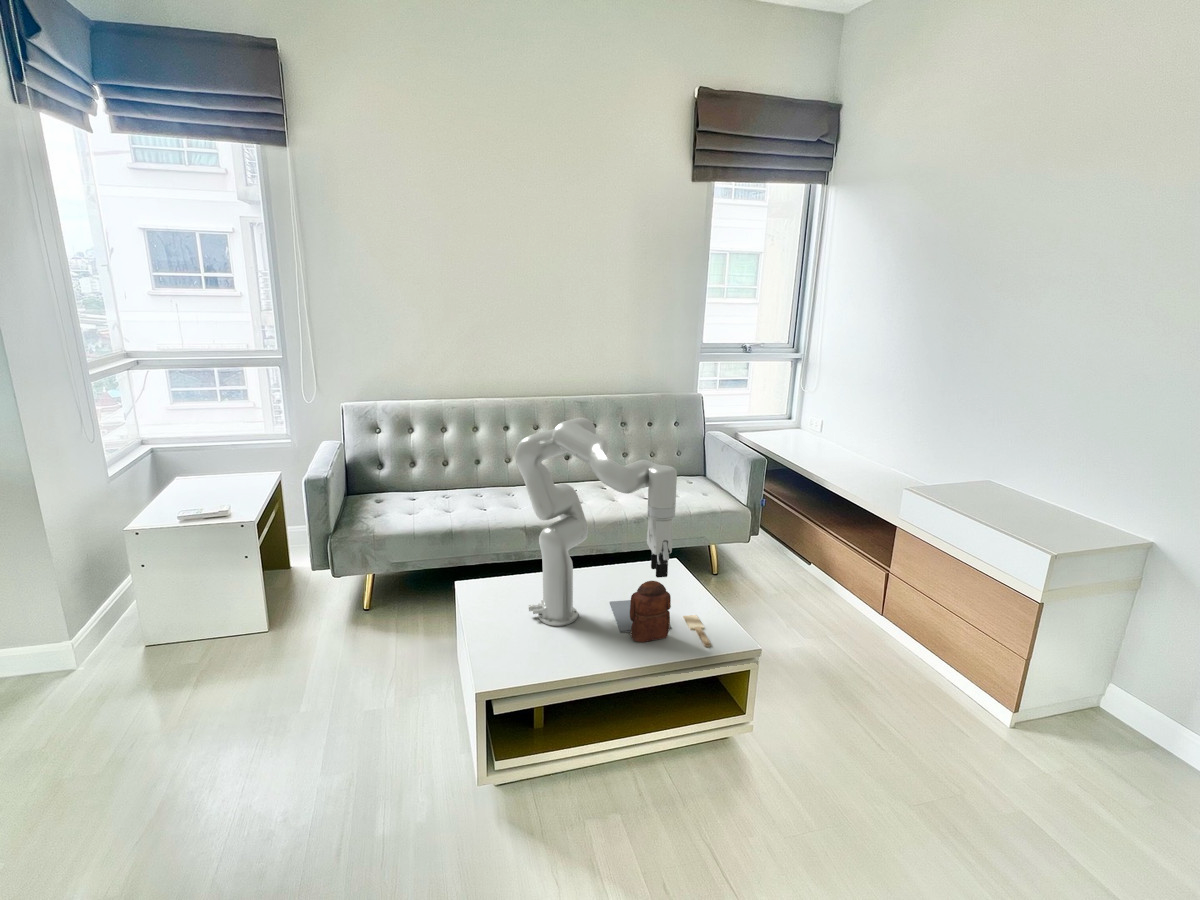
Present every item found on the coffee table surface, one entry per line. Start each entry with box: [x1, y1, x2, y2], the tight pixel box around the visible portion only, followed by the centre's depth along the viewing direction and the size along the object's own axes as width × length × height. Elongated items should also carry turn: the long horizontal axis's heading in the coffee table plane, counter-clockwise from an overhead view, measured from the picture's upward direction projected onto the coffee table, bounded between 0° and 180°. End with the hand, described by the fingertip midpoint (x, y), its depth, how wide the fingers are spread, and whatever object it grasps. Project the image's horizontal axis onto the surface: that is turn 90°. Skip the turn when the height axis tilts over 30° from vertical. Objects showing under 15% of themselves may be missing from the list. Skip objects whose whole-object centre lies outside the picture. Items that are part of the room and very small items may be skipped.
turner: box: [682, 614, 712, 648], centre depth 191 cm, size 18×4×1 cm, turn 9°
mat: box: [609, 599, 672, 633], centre depth 200 cm, size 16×19×1 cm
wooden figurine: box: [630, 580, 672, 643], centre depth 185 cm, size 12×6×18 cm, turn 110°
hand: (659, 572), depth 172 cm, fingers open, 4 cm apart
